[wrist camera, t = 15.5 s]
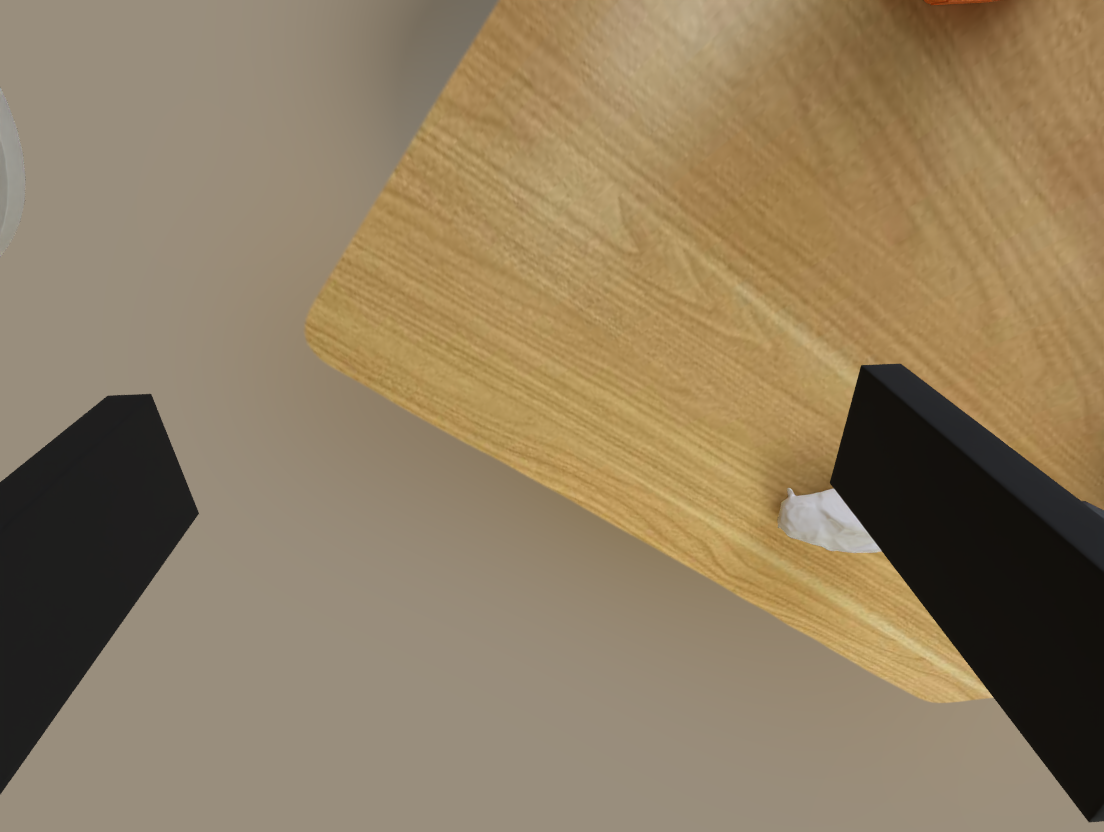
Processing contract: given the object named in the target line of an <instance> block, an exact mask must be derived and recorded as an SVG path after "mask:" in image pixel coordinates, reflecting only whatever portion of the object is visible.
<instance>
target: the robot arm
mask: <svg viewBox="0 0 1104 832" xmlns="http://www.w3.org/2000/svg"><path fill="white" fill-rule="evenodd" d="M830 484H831V485H832V486H833V488H834V489H835V490H836V492H837V493H838V494H839V496H840V497H841V498H842V500H843V501H844V502H845V503H846V505H847V506H848V507H849V509H850V510H851V511H852V513H853V514H854V515H855V517H856V518H857V519H858V520H859V522H860V523H861V524H862V526H863V527H864V528H865V530H866V531H867V532H868V534H869V535H870V536H871V538H872V539H873V540H874V541H875V543H876V544H877V545H878V547H879V548H880V549H881V551H882V552H883V553H884V555H885V556H886V557H887V558H888V560H889V561H890V562H891V564H892V565H893V566H894V568H895V569H896V570H897V572H898V573H899V574H900V575H901V577H902V578H903V579H904V581H905V582H906V583H907V585H908V586H909V587H910V589H911V590H912V591H913V593H914V594H915V595H916V596H917V598H918V599H919V600H920V602H921V603H922V604H923V606H924V607H925V608H926V610H927V611H928V612H929V613H930V615H931V616H932V617H933V619H934V620H935V621H936V623H937V624H938V625H939V627H940V628H941V629H942V630H943V632H944V633H945V634H946V636H947V637H948V638H949V640H950V641H951V642H952V644H953V645H954V646H955V647H956V649H957V650H958V651H959V653H960V654H961V655H962V657H963V658H964V659H965V661H966V662H967V663H968V665H969V666H970V667H971V668H972V670H973V671H974V672H975V674H976V675H977V676H978V678H979V679H980V680H981V682H982V683H983V684H984V685H985V687H986V688H987V689H988V691H989V692H990V693H991V695H992V696H993V697H994V699H995V700H996V701H997V702H998V704H999V705H1000V706H1001V708H1002V709H1003V710H1004V712H1005V713H1006V714H1007V715H1008V717H1009V718H1010V719H1011V721H1012V722H1013V723H1014V725H1015V726H1016V727H1017V729H1018V730H1019V731H1020V733H1021V734H1022V735H1023V737H1024V738H1025V739H1026V740H1027V742H1028V743H1029V744H1030V746H1031V747H1032V748H1033V750H1034V751H1035V752H1036V753H1037V755H1038V756H1039V757H1040V759H1041V760H1042V761H1043V763H1044V764H1045V765H1046V767H1047V768H1048V769H1049V770H1050V772H1051V773H1052V774H1053V776H1054V777H1055V778H1056V780H1057V781H1058V782H1059V784H1060V785H1061V786H1062V788H1063V789H1064V790H1065V791H1066V793H1067V794H1068V795H1069V797H1070V798H1071V799H1072V801H1073V802H1074V803H1075V804H1076V806H1077V807H1078V808H1079V810H1080V811H1081V812H1082V814H1083V815H1084V816H1085V818H1086V819H1087V820H1088V821H1089V822H1099V821H1104V510H1102V509H1100V508H1098V507H1096V506H1094V505H1092V504H1090V503H1088V502H1086V501H1080V500H1079V499H1078V498H1076V497H1075V496H1074V495H1072V494H1071V493H1070V492H1068V491H1067V490H1066V489H1064V488H1063V487H1062V486H1060V485H1059V484H1058V483H1057V482H1055V481H1054V480H1053V479H1051V478H1050V477H1049V476H1047V475H1046V474H1045V473H1043V472H1042V471H1041V470H1039V469H1038V468H1037V467H1036V466H1034V465H1033V464H1032V463H1030V462H1029V461H1028V460H1026V459H1025V458H1024V457H1022V456H1021V455H1020V454H1018V453H1017V452H1016V451H1015V450H1013V449H1012V448H1011V447H1009V446H1008V445H1007V444H1005V443H1004V442H1003V441H1001V440H1000V439H999V438H997V437H996V436H995V435H994V434H992V433H991V432H990V431H988V430H987V429H986V428H984V427H983V426H982V425H980V424H979V423H978V422H976V421H975V420H974V419H973V418H971V417H970V416H969V415H967V414H966V413H965V412H963V411H962V410H961V409H959V408H958V407H957V406H955V405H954V404H953V403H952V402H950V401H949V400H948V399H946V398H945V397H944V396H942V395H941V394H940V393H938V392H937V391H936V390H934V389H933V388H932V387H931V386H929V385H928V384H927V383H925V382H924V381H923V380H921V379H920V378H919V377H917V376H916V375H915V374H913V373H912V372H911V371H910V370H908V369H907V368H906V367H904V366H903V365H902V364H882V365H861V368H860V372H859V376H858V379H857V383H856V387H855V391H854V394H853V398H852V402H851V406H850V409H849V413H848V417H847V421H846V424H845V428H844V432H843V436H842V439H841V443H840V447H839V451H838V454H837V458H836V462H835V466H834V469H833V473H832V477H831V481H830ZM198 514H199V513H198V510H197V507H196V505H195V502H194V500H193V497H192V495H191V492H190V490H189V487H188V485H187V483H186V480H185V478H184V475H183V472H182V470H181V468H180V465H179V462H178V460H177V457H176V455H175V452H174V450H173V447H172V445H171V443H170V440H169V438H168V435H167V432H166V430H165V428H164V426H163V423H162V420H161V417H160V415H159V413H158V410H157V407H156V405H155V402H154V400H153V397H152V395H151V394H142V395H140V394H139V395H117V396H116V395H115V396H107V397H106V398H104V399H103V400H102V401H101V402H99V403H98V404H97V405H96V406H94V407H93V408H92V409H91V410H89V411H88V412H87V413H86V414H84V415H83V416H82V417H81V418H79V419H78V420H77V421H76V422H75V423H73V424H72V425H71V426H70V427H68V428H67V429H66V430H65V431H63V432H62V433H61V434H60V435H58V436H57V437H56V438H55V439H53V440H52V441H51V442H50V443H48V444H47V445H46V446H45V447H43V448H42V449H41V450H40V451H39V452H38V453H36V454H35V455H34V456H33V457H31V458H30V459H29V460H27V461H26V462H25V463H24V464H23V465H21V466H20V467H19V468H17V469H16V470H15V471H14V472H12V473H11V474H10V475H9V476H8V477H6V478H5V479H4V480H3V481H1V482H0V794H1V793H2V791H3V790H4V788H5V787H6V786H7V784H8V782H9V781H10V780H11V779H12V777H13V776H14V774H15V773H16V771H17V770H18V769H19V767H20V766H21V764H22V763H23V761H24V760H25V759H26V757H27V756H28V755H29V753H30V752H31V750H32V749H33V747H34V746H35V745H36V743H37V742H38V740H39V739H40V738H41V736H42V735H43V733H44V732H45V730H46V729H47V728H48V726H49V725H50V723H51V722H52V721H53V719H54V718H55V716H56V715H57V713H58V712H59V711H60V709H61V708H62V706H63V705H64V704H65V702H66V701H67V699H68V698H69V696H70V695H71V694H72V692H73V691H74V689H75V688H76V687H77V685H78V684H79V682H80V681H81V680H82V678H83V677H84V675H85V674H86V672H87V671H88V670H89V668H90V667H91V665H92V664H93V663H94V661H95V660H96V658H97V657H98V655H99V654H100V653H101V651H102V650H103V648H104V647H105V645H106V644H107V643H108V641H109V640H110V638H111V637H112V636H113V634H114V633H115V631H116V630H117V628H118V627H119V625H120V624H121V623H122V622H123V620H124V619H125V617H126V616H127V614H128V613H129V612H130V610H131V609H132V607H133V606H134V604H135V603H136V602H137V600H138V599H139V597H140V596H141V595H142V593H143V592H144V590H145V589H146V588H147V586H148V585H149V583H150V582H151V581H152V579H153V578H154V576H155V575H156V573H157V572H158V571H159V569H160V568H161V566H162V565H163V564H164V562H165V561H166V559H167V558H168V556H169V555H170V554H171V552H172V551H173V549H174V548H175V547H176V545H177V544H178V542H179V541H180V539H181V538H182V537H183V535H184V534H185V532H186V531H187V529H188V528H189V526H190V525H191V524H192V522H193V521H194V520H195V518H196V517H197V515H198Z"/></svg>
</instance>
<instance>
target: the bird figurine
mask: <svg viewBox="0 0 1104 832" xmlns="http://www.w3.org/2000/svg"><path fill="white" fill-rule="evenodd" d="M787 492H788V497H787V498H786V499H785V500H784V501H782V502H781V508H780V511H779V516H778V520H777V522H778V528H781V529H782V530H783V531H784V532H785V533H786V534H787V535H788V536H789V537H790V538H794V539H798V540H801V541H804V542H807V543H810V544H814V545H818V546H822V547H824V548H825V549H827V550H829V551H842V552H851V553H874V552H880V551H881V549H880V548H879V547H878V545H877V544H876V543H875V541H874V540H873V539H872V538H871V536H870V535H869V534H868V532H867V531H866V530H865V528H864V527H863V526H862V524H861V523H860V522H859V520H858V519H857V518H856V517H855V515H854V514H853V513H852V511H851V510H850V509H849V507H848V506H847V505H846V503H845V502H844V501H843V500H842V498H841V497H840V496H839V494H838V493H837V492H836V490H835V489H834V488H833V489H829V490H825V491H823V492H817V493H814V494H809V495H800V496H796V495H795V494H794V493H793V491H792V489H791V488H787Z"/></svg>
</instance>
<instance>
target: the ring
mask: <svg viewBox="0 0 1104 832" xmlns="http://www.w3.org/2000/svg"><path fill="white" fill-rule="evenodd" d="M924 1H925V2H926V3H927V4H930V3H931V4H930V5H944V4H964V3H983V2H992V1H1000V0H924Z"/></svg>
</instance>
